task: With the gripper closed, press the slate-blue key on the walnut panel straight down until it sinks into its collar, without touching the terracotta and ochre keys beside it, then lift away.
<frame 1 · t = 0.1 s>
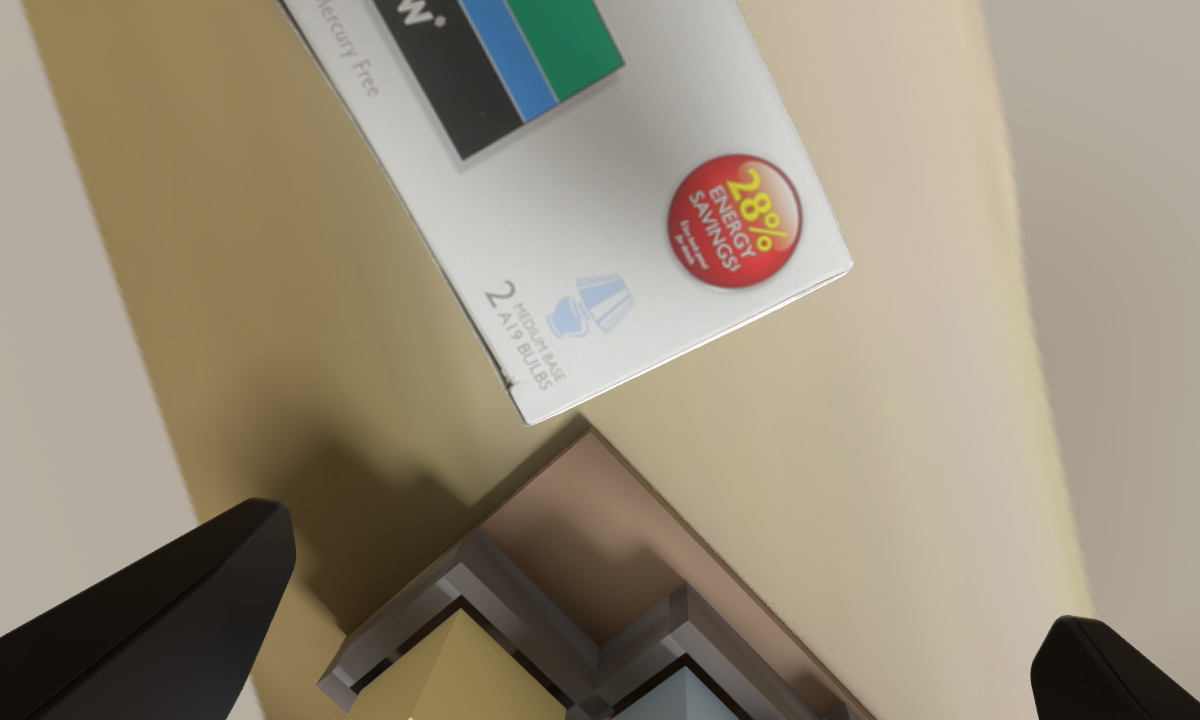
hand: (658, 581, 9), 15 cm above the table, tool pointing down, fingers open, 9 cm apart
light bulb box: (597, 112, 23), on the table
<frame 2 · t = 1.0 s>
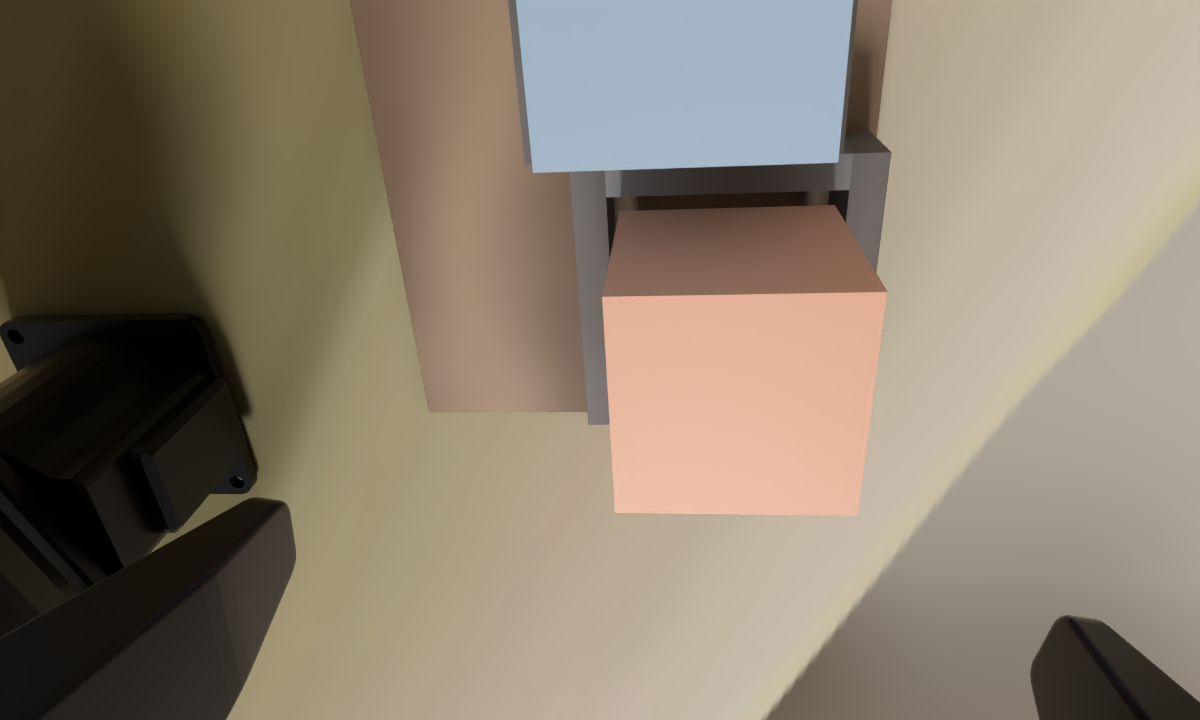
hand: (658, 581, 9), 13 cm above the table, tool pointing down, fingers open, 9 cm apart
terracotta key: (729, 352, 16), point 5 cm above the table, slide at 0.0 cm
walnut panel: (616, 27, 18), on the table
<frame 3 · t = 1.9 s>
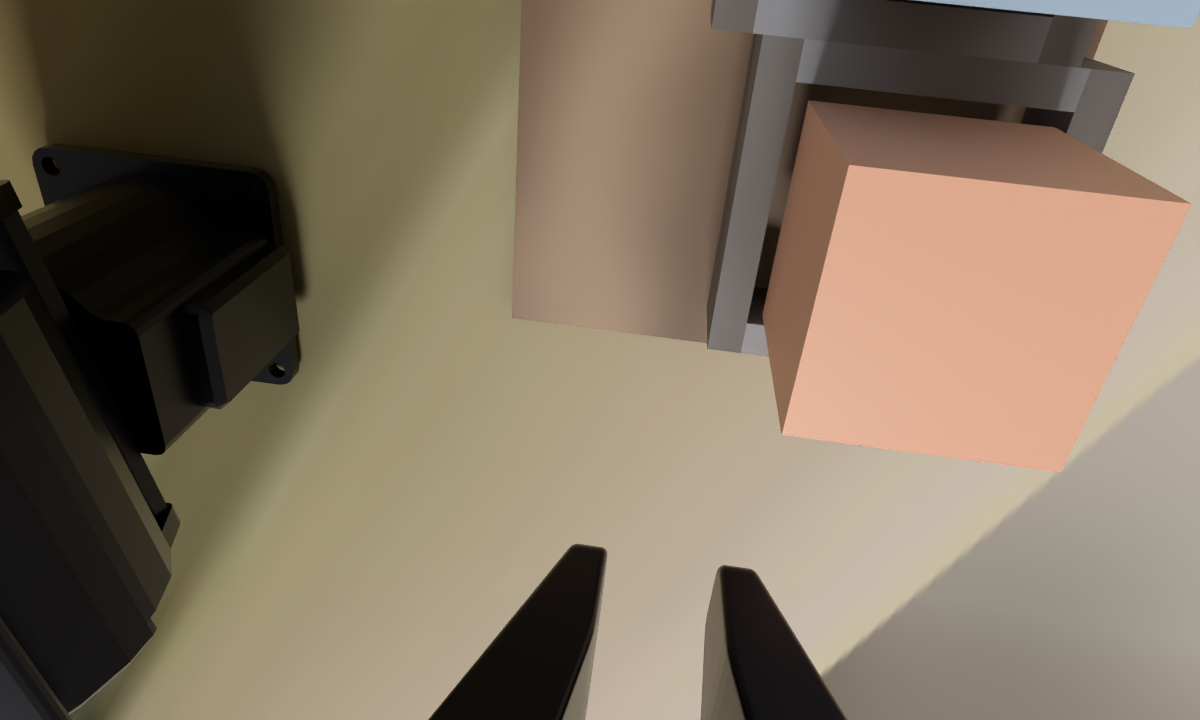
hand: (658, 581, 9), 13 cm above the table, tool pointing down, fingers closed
terracotta key: (925, 272, 14), point 5 cm above the table, slide at 0.0 cm
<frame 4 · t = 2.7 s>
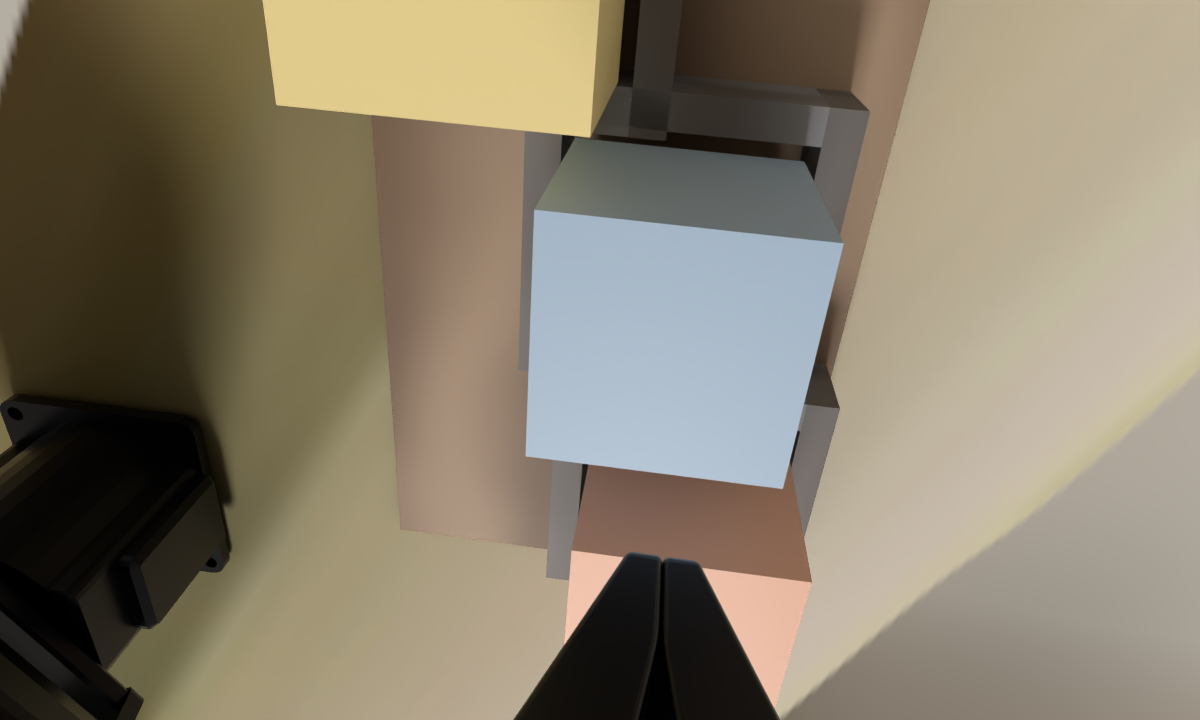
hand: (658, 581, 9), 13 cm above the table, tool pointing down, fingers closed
terracotta key: (677, 567, 19), point 5 cm above the table, slide at 0.0 cm
slate blue key: (672, 301, 15), point 5 cm above the table, slide at 0.0 cm
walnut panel: (615, 245, 20), on the table
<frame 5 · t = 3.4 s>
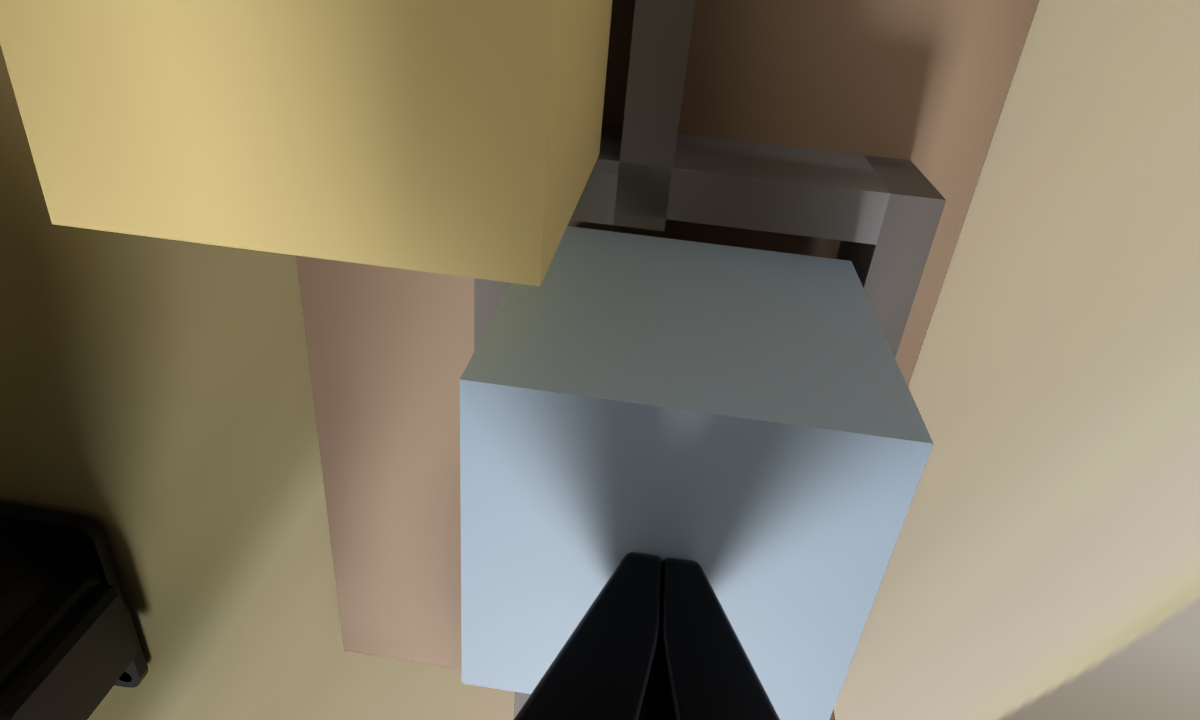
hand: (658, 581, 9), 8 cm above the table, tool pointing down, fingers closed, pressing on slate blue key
slate blue key: (669, 457, 11), point 5 cm above the table, slide at 0.1 cm, touching gripper
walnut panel: (601, 337, 16), on the table
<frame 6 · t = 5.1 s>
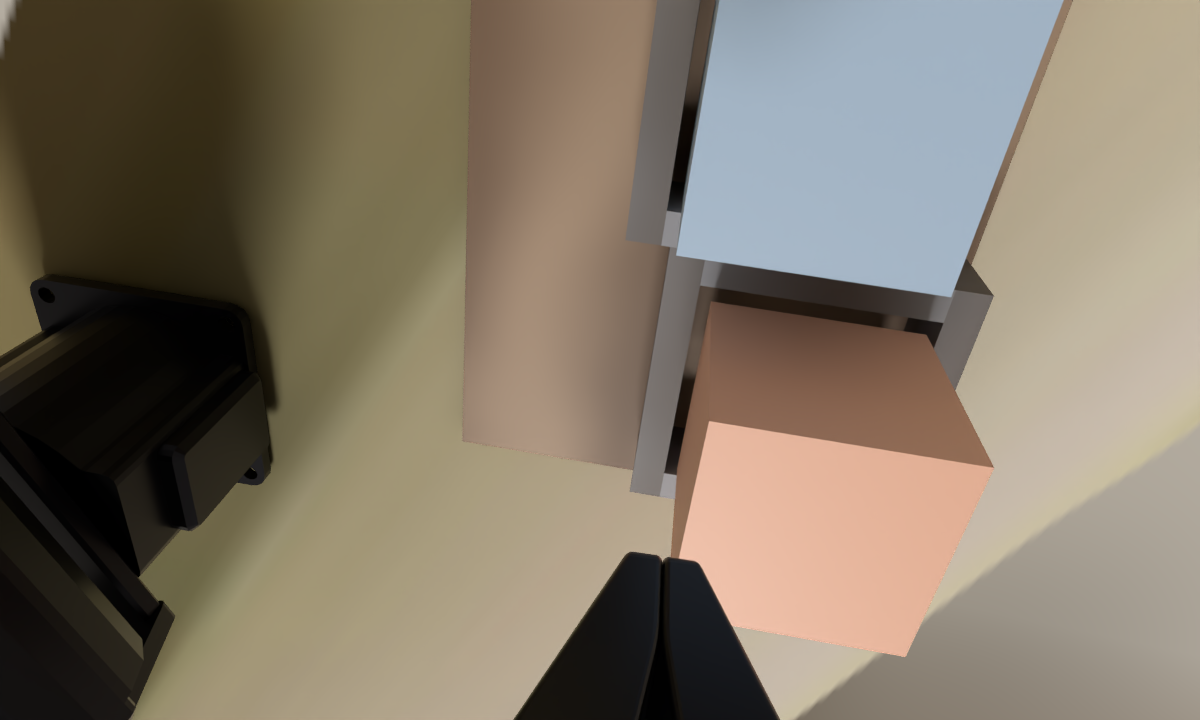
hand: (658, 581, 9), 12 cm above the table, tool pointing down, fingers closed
terracotta key: (802, 468, 16), point 5 cm above the table, slide at 0.0 cm
slate blue key: (830, 107, 14), point 4 cm above the table, slide at 1.7 cm
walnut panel: (735, 110, 18), on the table
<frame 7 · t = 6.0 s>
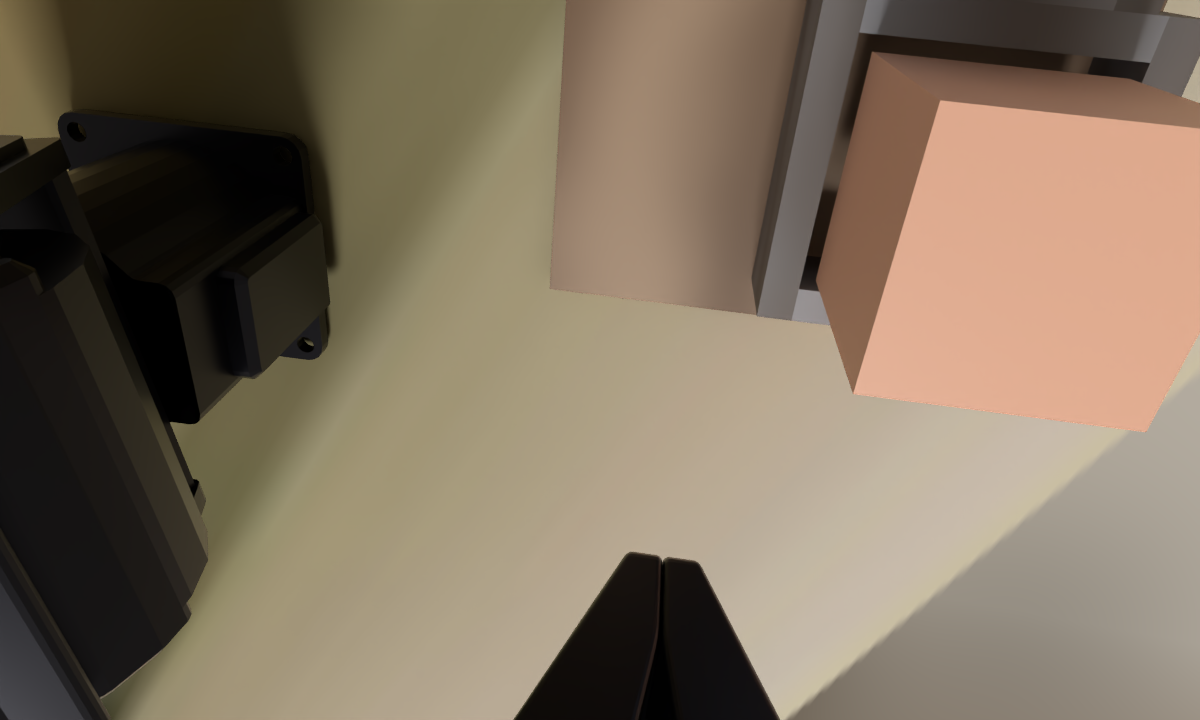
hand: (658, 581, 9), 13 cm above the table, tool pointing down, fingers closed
terracotta key: (998, 227, 14), point 5 cm above the table, slide at 0.0 cm
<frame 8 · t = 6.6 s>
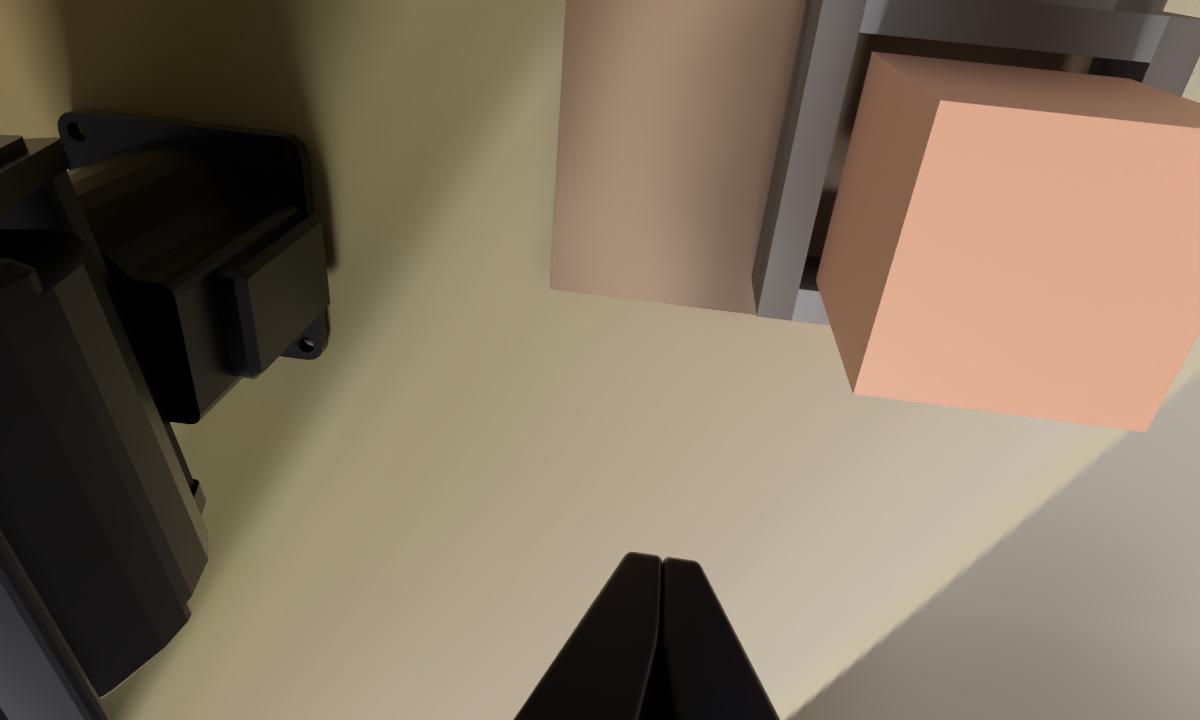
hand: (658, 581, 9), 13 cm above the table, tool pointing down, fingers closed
terracotta key: (998, 227, 14), point 5 cm above the table, slide at 0.0 cm
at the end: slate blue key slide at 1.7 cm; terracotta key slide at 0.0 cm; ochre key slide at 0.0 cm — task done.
